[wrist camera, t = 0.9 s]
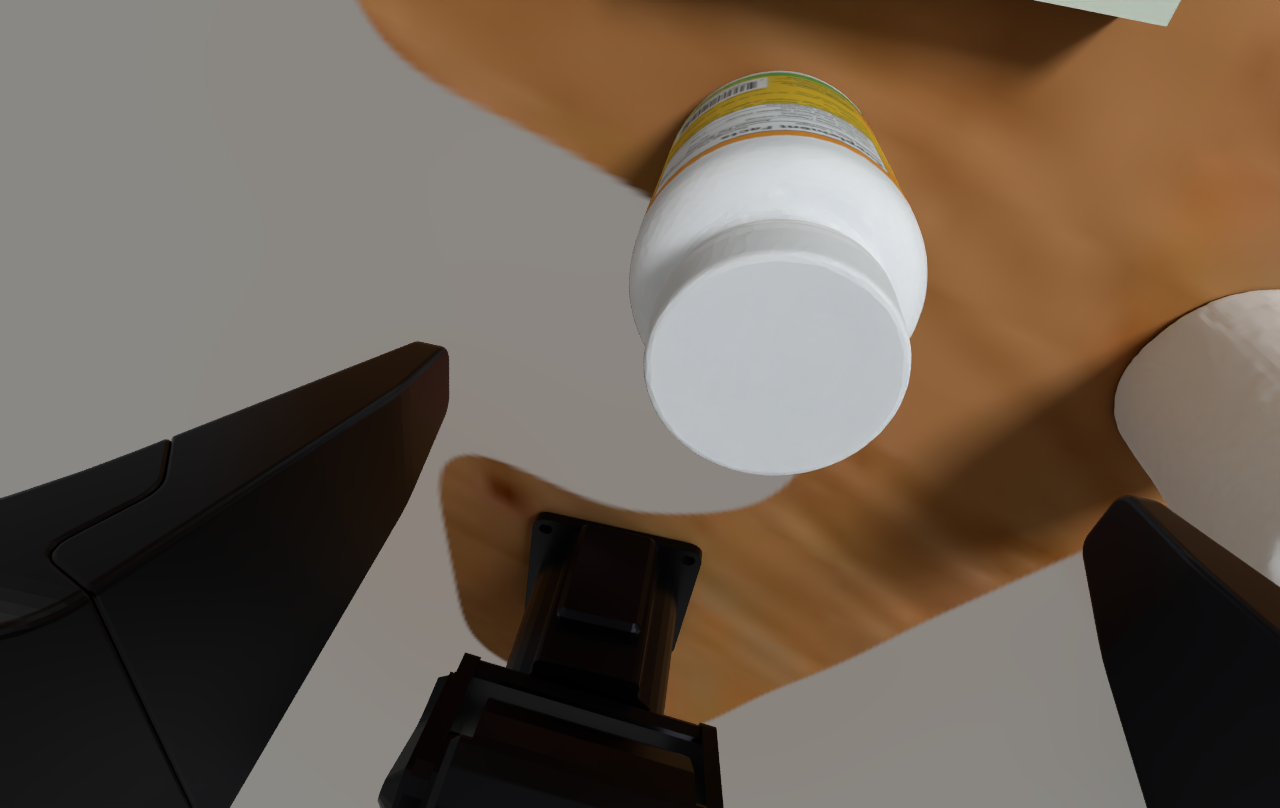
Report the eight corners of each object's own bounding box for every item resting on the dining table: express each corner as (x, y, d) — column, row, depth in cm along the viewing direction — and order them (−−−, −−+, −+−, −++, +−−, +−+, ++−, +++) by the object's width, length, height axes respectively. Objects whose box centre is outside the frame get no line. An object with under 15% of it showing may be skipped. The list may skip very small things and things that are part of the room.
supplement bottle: (823, 297, 20) (862, 546, 12) (644, 240, 20) (566, 455, 12) (916, 106, 17) (1050, 276, 9) (704, 35, 17) (651, 146, 9)
